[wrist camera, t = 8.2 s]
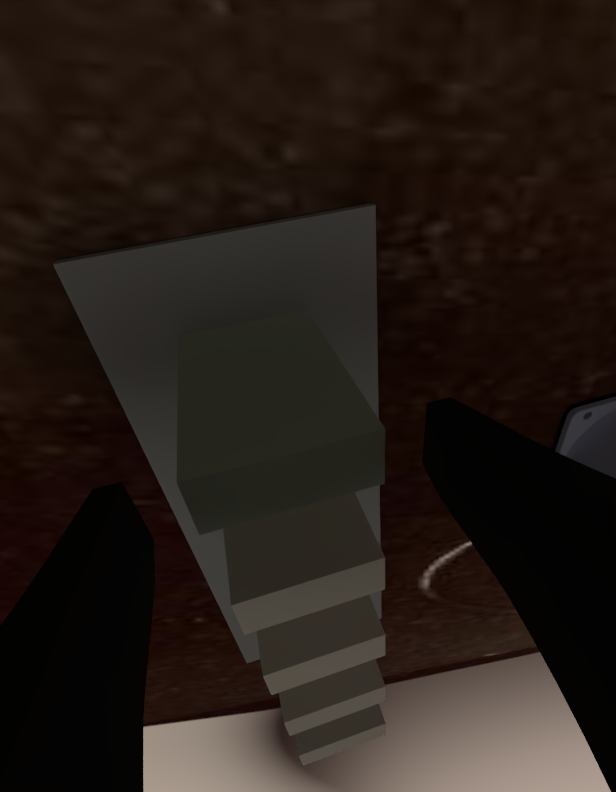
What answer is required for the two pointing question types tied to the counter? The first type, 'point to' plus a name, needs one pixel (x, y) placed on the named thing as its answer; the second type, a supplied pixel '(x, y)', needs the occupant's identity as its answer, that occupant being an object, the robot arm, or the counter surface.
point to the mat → (219, 307)
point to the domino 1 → (269, 422)
